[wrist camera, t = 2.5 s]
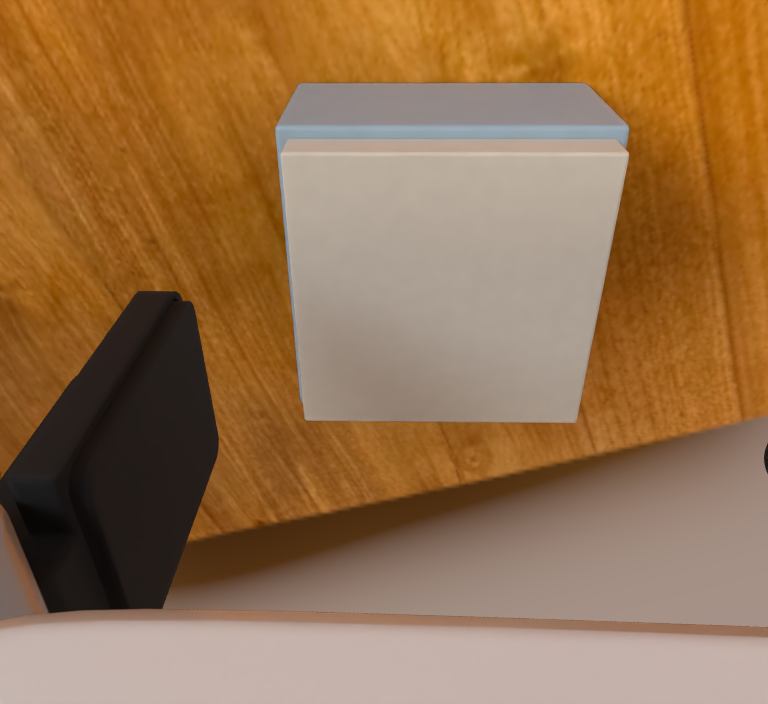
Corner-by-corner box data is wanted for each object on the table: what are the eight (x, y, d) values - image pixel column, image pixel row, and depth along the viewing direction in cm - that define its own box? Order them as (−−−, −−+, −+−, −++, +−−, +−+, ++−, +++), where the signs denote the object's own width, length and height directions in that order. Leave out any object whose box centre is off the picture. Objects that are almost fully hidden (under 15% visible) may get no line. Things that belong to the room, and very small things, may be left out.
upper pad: (315, 327, 17) (295, 429, 14) (297, 82, 14) (266, 140, 11) (549, 329, 17) (585, 431, 14) (588, 81, 14) (646, 140, 11)
